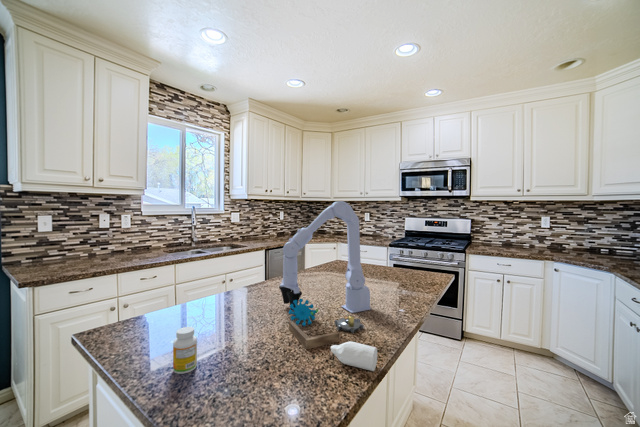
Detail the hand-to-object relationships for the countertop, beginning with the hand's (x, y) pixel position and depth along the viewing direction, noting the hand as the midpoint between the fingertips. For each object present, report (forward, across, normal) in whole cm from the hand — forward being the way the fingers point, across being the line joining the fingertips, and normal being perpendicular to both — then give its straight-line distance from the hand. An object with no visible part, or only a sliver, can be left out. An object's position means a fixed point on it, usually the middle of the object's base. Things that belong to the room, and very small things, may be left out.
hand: (290, 306), depth 111 cm
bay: (+1, +24, -1) cm, 24 cm away
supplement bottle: (+2, +26, -38) cm, 46 cm away
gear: (+2, +13, 0) cm, 13 cm away
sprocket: (+1, +23, +12) cm, 27 cm away
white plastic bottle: (+2, +43, +1) cm, 43 cm away
